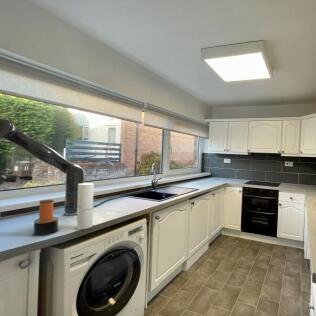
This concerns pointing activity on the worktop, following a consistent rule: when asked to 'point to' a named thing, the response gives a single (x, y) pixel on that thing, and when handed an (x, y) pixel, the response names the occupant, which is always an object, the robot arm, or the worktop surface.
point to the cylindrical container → (85, 205)
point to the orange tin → (46, 210)
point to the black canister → (45, 227)
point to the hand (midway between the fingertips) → (24, 179)
